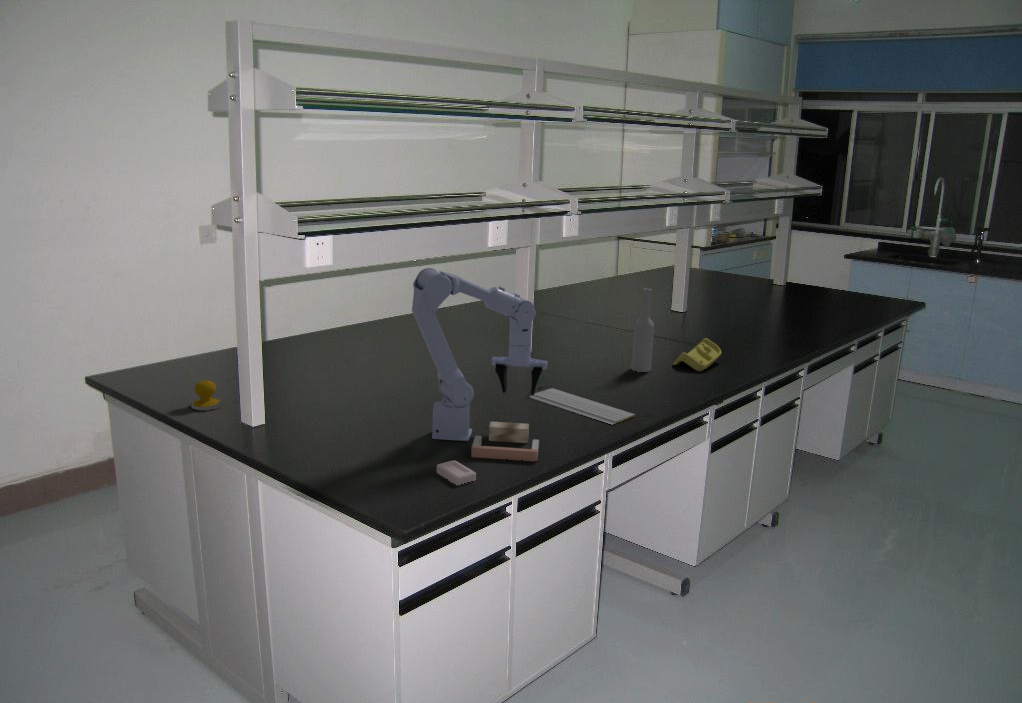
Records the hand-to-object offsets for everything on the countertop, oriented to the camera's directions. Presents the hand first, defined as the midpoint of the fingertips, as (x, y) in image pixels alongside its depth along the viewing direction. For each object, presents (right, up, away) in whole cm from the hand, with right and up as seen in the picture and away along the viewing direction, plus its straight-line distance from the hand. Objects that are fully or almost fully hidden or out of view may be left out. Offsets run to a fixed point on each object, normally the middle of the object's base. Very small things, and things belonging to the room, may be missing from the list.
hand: (518, 392), depth 213 cm
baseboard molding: (+18, -6, +20) cm, 27 cm away
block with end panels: (-3, -14, -15) cm, 20 cm away
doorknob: (-87, -4, +9) cm, 87 cm away
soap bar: (-15, -18, -29) cm, 37 cm away
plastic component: (+64, +6, +70) cm, 95 cm away
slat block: (-3, -12, -6) cm, 13 cm away
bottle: (+42, +5, +60) cm, 73 cm away
